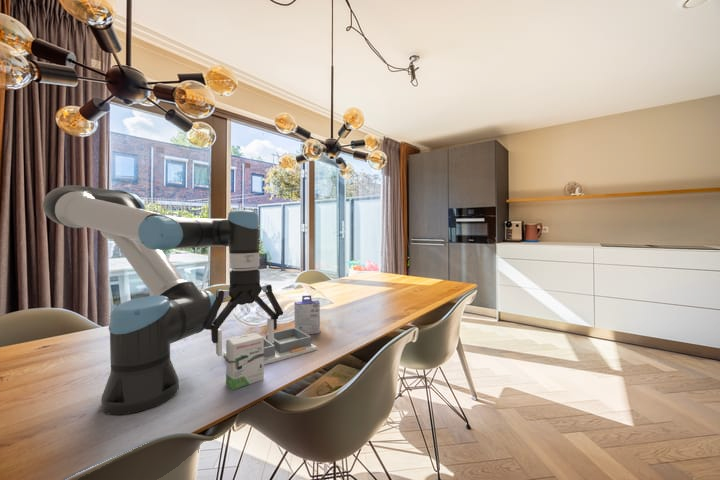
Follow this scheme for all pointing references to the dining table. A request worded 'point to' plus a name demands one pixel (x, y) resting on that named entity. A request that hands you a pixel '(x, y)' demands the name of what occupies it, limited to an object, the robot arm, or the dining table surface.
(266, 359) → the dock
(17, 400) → the dining table surface
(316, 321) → the ink cartridge box
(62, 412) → the dining table surface
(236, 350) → the ink box
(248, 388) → the dining table surface
